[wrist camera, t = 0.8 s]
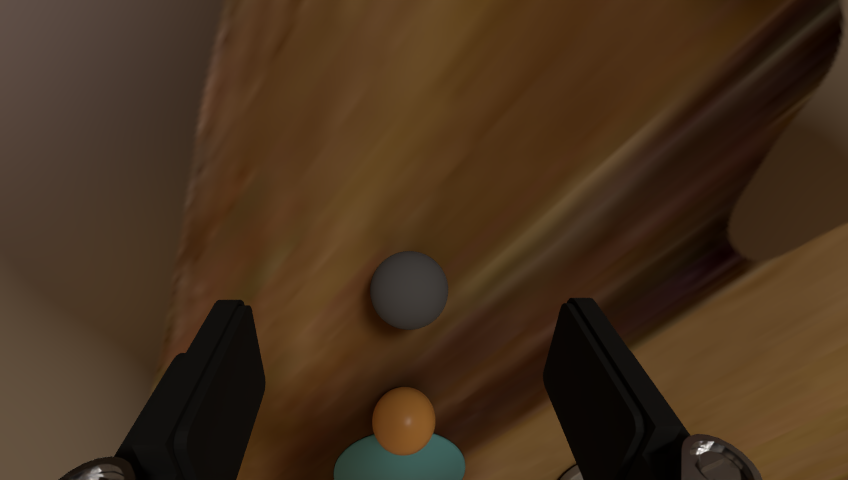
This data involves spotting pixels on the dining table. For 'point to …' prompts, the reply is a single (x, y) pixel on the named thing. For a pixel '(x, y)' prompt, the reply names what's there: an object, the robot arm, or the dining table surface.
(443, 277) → the dark grey ball
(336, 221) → the dining table surface
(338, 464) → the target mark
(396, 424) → the object ball
